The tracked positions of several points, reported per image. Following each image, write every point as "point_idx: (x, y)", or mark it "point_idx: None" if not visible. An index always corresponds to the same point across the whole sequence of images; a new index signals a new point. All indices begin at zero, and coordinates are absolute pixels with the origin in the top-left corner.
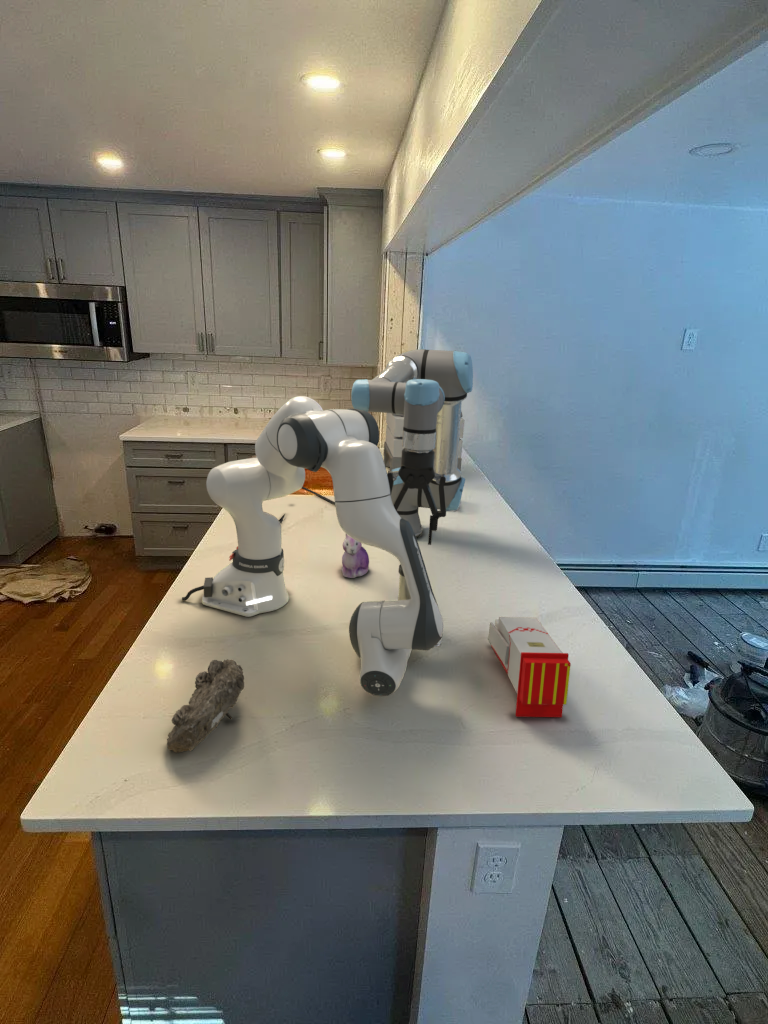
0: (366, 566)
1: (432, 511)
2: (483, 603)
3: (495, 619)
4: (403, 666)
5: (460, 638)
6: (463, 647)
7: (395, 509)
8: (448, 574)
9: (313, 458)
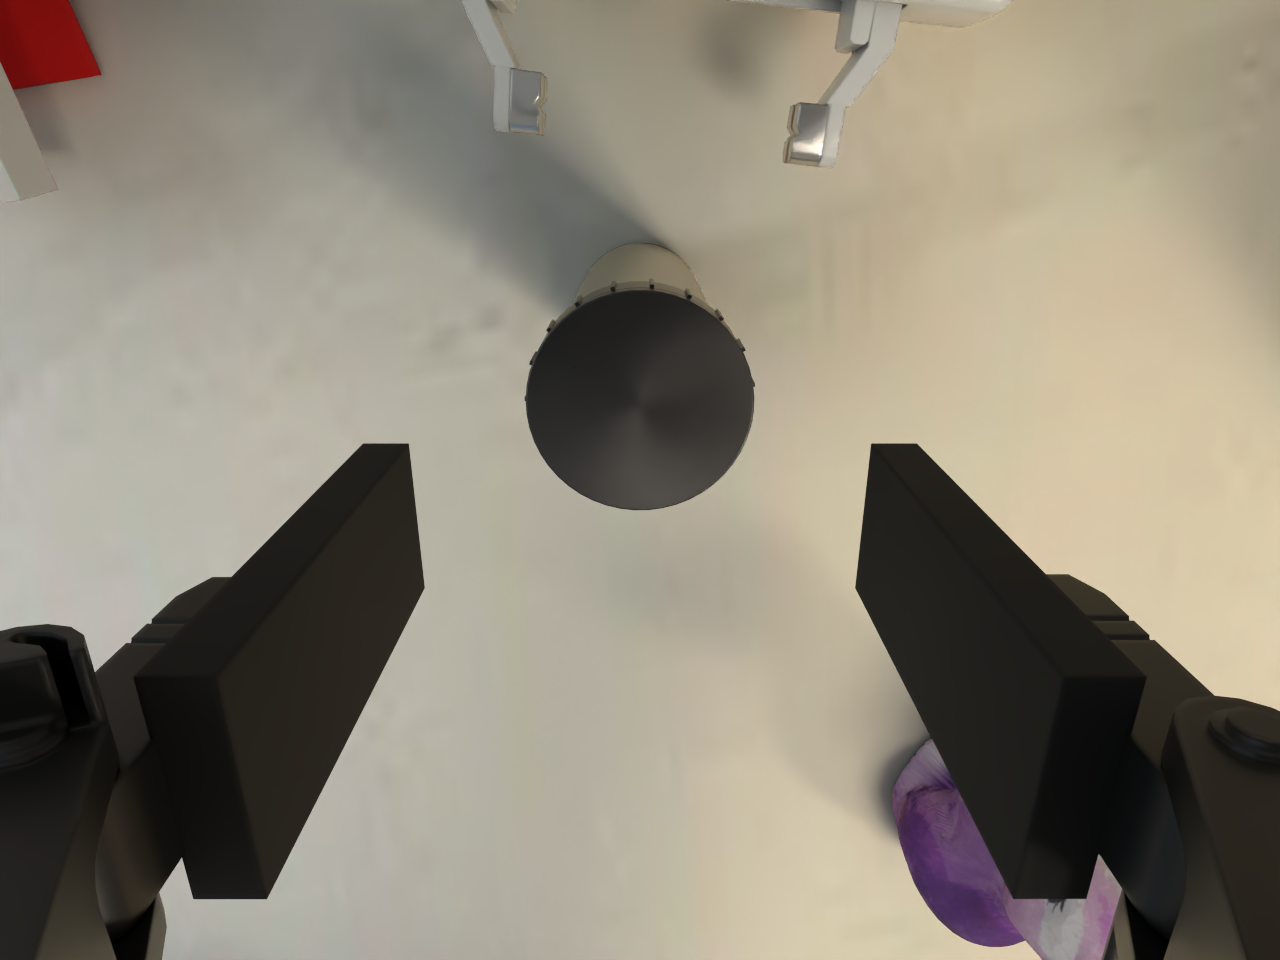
0: (912, 801)
1: (14, 861)
2: (222, 571)
3: (18, 196)
4: None
5: (302, 150)
6: (271, 42)
7: (1267, 836)
8: (447, 832)
9: None
